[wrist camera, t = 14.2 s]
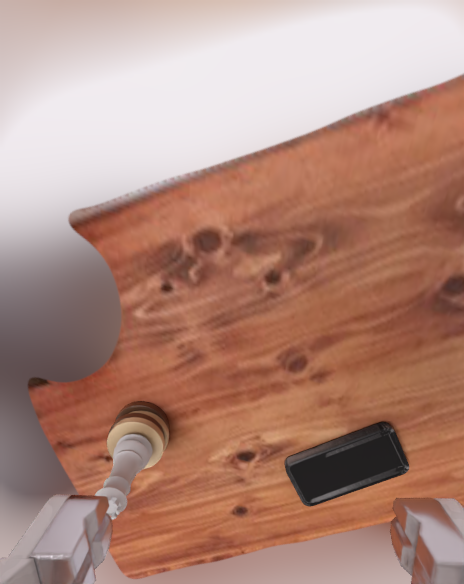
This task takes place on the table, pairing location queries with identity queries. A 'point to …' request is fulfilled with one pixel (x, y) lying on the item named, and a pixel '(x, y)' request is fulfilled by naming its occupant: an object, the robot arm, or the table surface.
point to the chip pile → (141, 428)
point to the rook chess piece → (125, 470)
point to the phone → (347, 464)
